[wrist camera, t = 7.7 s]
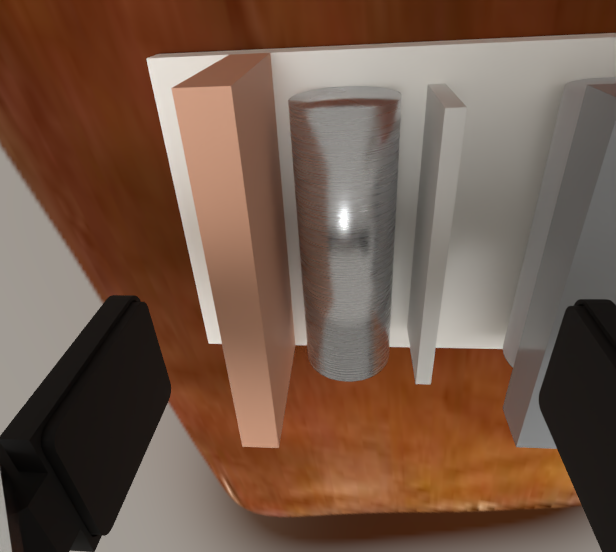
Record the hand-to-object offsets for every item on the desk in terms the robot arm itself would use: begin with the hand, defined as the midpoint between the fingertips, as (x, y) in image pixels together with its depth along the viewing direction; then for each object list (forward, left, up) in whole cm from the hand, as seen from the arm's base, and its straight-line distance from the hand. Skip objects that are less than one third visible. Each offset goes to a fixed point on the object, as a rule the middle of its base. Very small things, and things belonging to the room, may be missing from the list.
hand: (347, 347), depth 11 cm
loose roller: (0, 0, -6) cm, 6 cm away
